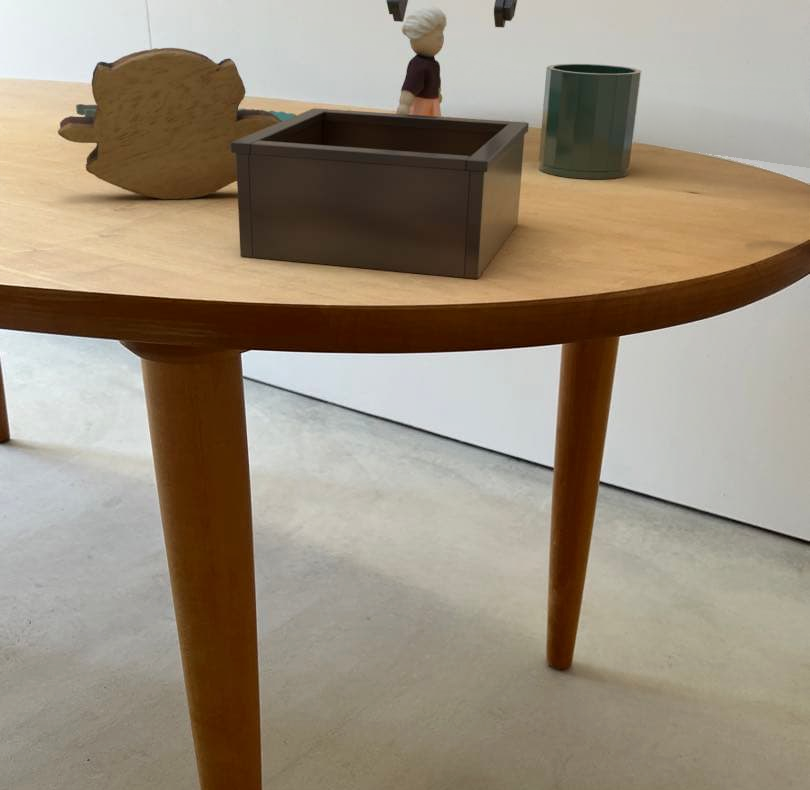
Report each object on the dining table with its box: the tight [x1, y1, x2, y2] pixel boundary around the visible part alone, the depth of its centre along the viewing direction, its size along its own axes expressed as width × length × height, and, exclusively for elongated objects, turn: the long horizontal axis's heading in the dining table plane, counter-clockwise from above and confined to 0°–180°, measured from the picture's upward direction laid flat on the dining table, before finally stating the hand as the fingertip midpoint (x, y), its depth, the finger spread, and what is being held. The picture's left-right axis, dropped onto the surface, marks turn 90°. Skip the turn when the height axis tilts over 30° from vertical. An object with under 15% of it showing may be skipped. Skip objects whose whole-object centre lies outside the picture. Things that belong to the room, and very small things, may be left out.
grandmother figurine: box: [396, 4, 447, 117], centre depth 85 cm, size 8×4×13 cm, turn 169°
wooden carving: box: [57, 47, 282, 200], centre depth 79 cm, size 16×5×10 cm, turn 109°
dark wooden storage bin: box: [231, 107, 530, 280], centre depth 70 cm, size 15×15×7 cm
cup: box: [538, 63, 642, 180], centre depth 92 cm, size 8×8×8 cm
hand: (447, 17), depth 90 cm, fingers open, 8 cm apart
